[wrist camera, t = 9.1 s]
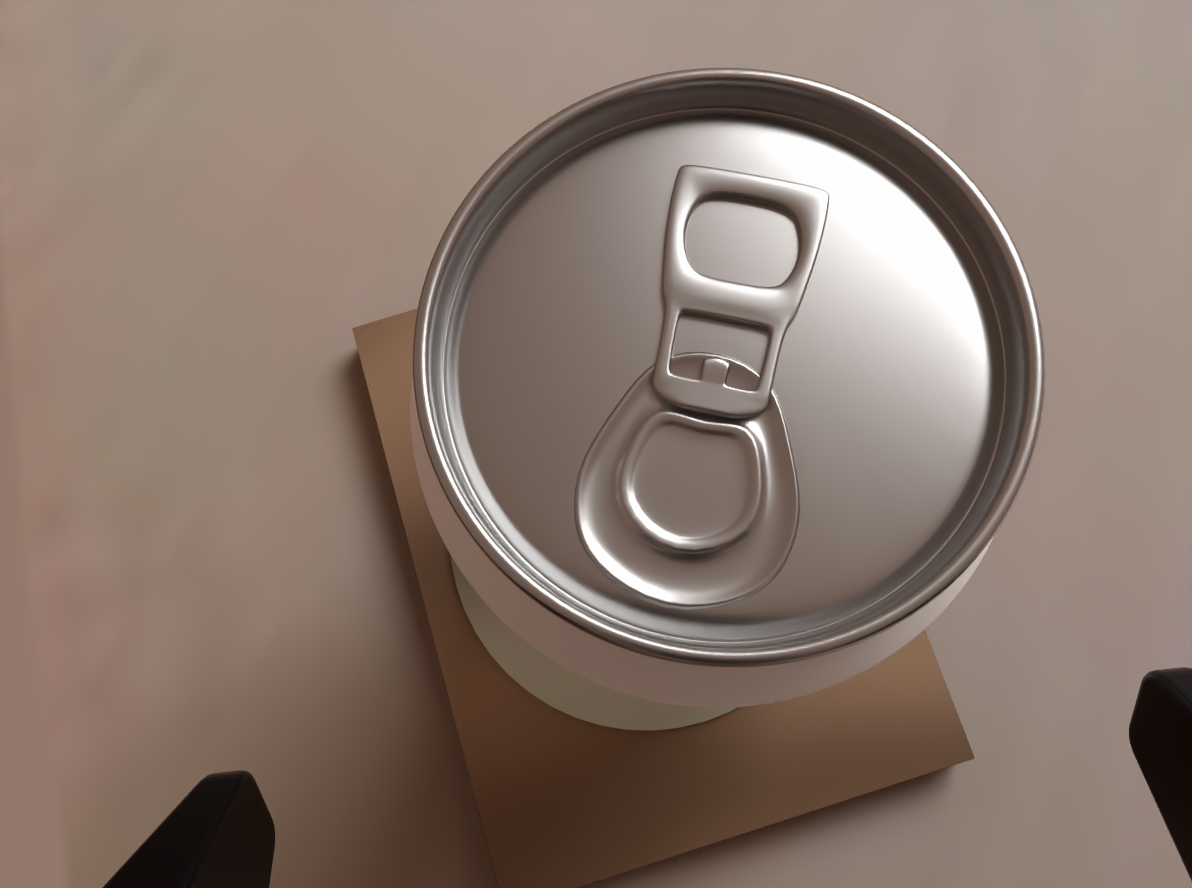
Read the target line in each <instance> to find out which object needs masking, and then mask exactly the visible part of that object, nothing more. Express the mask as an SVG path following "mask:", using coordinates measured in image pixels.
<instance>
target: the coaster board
mask: <svg viewBox="0 0 1192 888" xmlns="http://www.w3.org/2000/svg"><path fill="white" fill-rule="evenodd" d="M417 310H418V309H414V310H411V311H408V312H404V313H401V314H398V315H394V316H391V317H388V318H385V319H381V320H378V321H375V322H371V323H368V324H365V325H362V326H358V327H355V328H352V329H353V333H354V337H355V341H356V344H357V348H358V352H359V356H360V360H361V364H362V367H363V371H364V375H365V379H366V383H367V387H368V390H369V394H370V398H371V402H372V406H373V410H374V413H375V417H376V421H377V425H378V429H379V433H380V436H381V440H382V444H383V448H384V452H385V456H386V459H387V463H388V467H389V471H390V475H391V479H392V482H393V486H394V490H395V494H396V498H397V502H398V505H399V509H400V513H401V517H402V521H403V525H404V528H405V532H406V536H407V540H408V544H409V548H410V551H411V555H412V559H413V563H414V567H415V571H416V574H417V578H418V582H419V586H420V590H421V594H422V597H423V601H424V605H425V609H426V613H427V617H428V620H429V624H430V628H431V632H432V636H433V640H434V643H435V647H436V651H437V655H438V659H439V663H440V666H441V670H442V674H443V678H444V682H445V686H446V689H447V693H448V697H449V701H450V705H451V709H452V713H453V716H454V720H455V724H456V728H457V732H458V736H459V739H460V743H461V747H462V751H463V755H464V759H465V762H466V766H467V770H468V774H469V778H470V782H471V785H472V789H473V793H474V797H475V801H476V805H477V808H478V812H479V816H480V820H481V824H482V828H483V831H484V835H485V839H486V843H487V847H488V851H489V854H490V858H491V862H492V866H493V870H494V874H495V877H496V881H497V885H498V888H578V887H581V886H584V885H587V884H590V883H593V882H596V881H599V880H602V879H605V878H608V877H611V876H614V875H618V874H621V873H624V872H627V871H630V870H633V869H636V868H639V867H642V866H645V865H648V864H651V863H654V862H657V861H661V860H664V859H667V858H670V857H673V856H676V855H679V854H682V853H685V852H688V851H691V850H694V849H697V848H700V847H704V846H707V845H710V844H713V843H716V842H719V841H722V840H725V839H728V838H731V837H734V836H737V835H740V834H744V833H747V832H750V831H753V830H756V829H759V828H762V827H765V826H768V825H771V824H774V823H777V822H780V821H783V820H787V819H790V818H793V817H796V816H799V815H802V814H805V813H808V812H811V811H814V810H817V809H820V808H823V807H826V806H830V805H833V804H836V803H839V802H842V801H845V800H848V799H851V798H854V797H857V796H860V795H863V794H866V793H869V792H873V791H876V790H879V789H882V788H885V787H888V786H891V785H894V784H897V783H900V782H903V781H906V780H909V779H912V778H916V777H919V776H922V775H925V774H928V773H931V772H934V771H937V770H940V769H943V768H946V767H949V766H952V765H955V764H959V763H962V762H965V761H968V760H971V759H974V755H973V753H972V750H971V748H970V745H969V742H968V740H967V737H966V735H965V732H964V729H963V727H962V724H961V722H960V719H959V717H958V714H957V711H956V709H955V706H954V704H953V701H952V698H951V696H950V693H949V691H948V688H947V686H946V683H945V680H944V678H943V675H942V673H941V670H940V668H939V665H938V662H937V660H936V657H935V655H934V652H933V649H932V647H931V644H930V642H929V639H928V637H927V634H926V631H925V629H924V630H923V631H922V632H921V633H920V634H919V635H918V636H916V637H915V638H914V639H913V640H911V641H910V642H909V643H907V644H906V645H905V646H904V647H902V648H901V649H899V650H898V651H896V652H895V653H894V654H892V655H891V656H889V657H887V658H886V659H884V660H883V661H881V662H880V663H878V664H876V665H874V666H872V667H871V668H869V669H867V670H865V671H863V672H861V673H859V674H857V675H855V676H853V677H851V678H849V679H847V680H845V681H842V682H840V683H838V684H835V685H833V686H830V687H828V688H825V689H822V690H820V691H817V692H814V693H810V694H807V695H804V696H800V697H797V698H793V699H789V700H784V701H779V702H774V703H769V704H762V705H755V706H744V707H727V708H708V707H691V706H682V705H674V704H667V703H661V702H656V701H652V700H647V699H643V698H639V697H635V696H631V695H628V694H625V693H622V692H619V691H616V690H613V689H610V688H608V687H605V686H602V685H600V684H597V683H595V682H593V681H590V680H588V679H586V678H584V677H582V676H580V675H578V674H576V673H574V672H572V671H570V670H568V669H567V668H565V667H563V666H561V665H559V664H558V663H556V662H555V661H553V660H551V659H550V658H548V657H547V656H545V655H544V654H542V653H541V652H539V651H538V650H536V649H535V648H534V647H532V646H531V645H530V644H528V643H527V642H526V641H525V640H523V639H522V638H521V637H520V636H518V635H517V634H516V633H515V632H514V631H513V630H511V629H510V628H509V627H508V626H507V625H506V624H505V623H504V622H503V621H502V620H501V619H500V618H499V617H498V616H497V615H496V614H495V613H494V612H493V611H492V610H491V609H490V608H489V607H488V606H487V605H486V603H485V602H484V601H483V600H482V599H481V598H480V596H479V595H478V594H477V593H476V591H475V590H474V589H473V587H472V586H471V585H470V584H469V582H468V581H467V579H466V578H465V576H464V575H463V574H462V572H461V571H460V569H459V568H458V566H457V564H456V563H455V561H454V560H453V558H452V556H451V555H450V553H449V551H448V549H447V547H446V546H445V544H444V542H443V540H442V538H441V536H440V534H439V532H438V530H437V528H436V525H435V523H434V521H433V519H432V516H431V514H430V511H429V508H428V506H427V503H426V500H425V497H424V494H423V491H422V488H421V484H420V480H419V476H418V472H417V467H416V462H415V457H414V451H413V444H412V435H411V419H410V398H411V383H412V373H413V341H414V331H415V323H416V316H417Z"/></svg>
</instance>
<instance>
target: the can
mask: <svg viewBox="0 0 1192 888" xmlns="http://www.w3.org/2000/svg"><path fill="white" fill-rule="evenodd" d="M1044 394H1045V353H1044V342H1043V333H1042V327H1041V321H1040V316H1039V312H1038V307H1037V303H1036V299H1035V296H1034V292H1033V288H1032V285H1031V282H1030V279H1029V276H1028V274H1027V271H1026V269H1025V266H1024V263H1023V261H1022V259H1021V256H1020V254H1019V252H1018V250H1017V248H1016V246H1015V244H1014V242H1013V240H1012V238H1011V236H1010V234H1009V232H1008V230H1007V229H1006V227H1005V225H1004V223H1003V222H1002V220H1001V219H1000V217H999V215H998V214H997V212H996V211H995V209H994V208H993V206H992V205H991V204H990V202H989V201H988V199H987V198H986V197H985V195H984V194H983V193H982V191H981V190H980V189H979V188H978V186H977V185H976V184H975V183H974V182H973V181H972V179H971V178H970V177H969V176H968V175H967V174H966V173H965V172H964V171H963V169H962V168H961V167H960V166H959V165H958V164H957V163H956V162H955V161H954V160H953V159H952V158H951V157H950V156H948V155H947V154H946V153H945V152H944V151H943V150H942V149H941V148H939V147H938V146H937V145H936V144H935V143H934V142H932V141H931V140H930V139H929V138H927V137H926V136H925V135H923V134H922V133H921V132H919V131H918V130H917V129H915V128H914V127H912V126H911V125H909V124H908V123H906V122H905V121H903V120H902V119H900V118H899V117H897V116H895V115H894V114H892V113H890V112H889V111H887V110H885V109H883V108H881V107H879V106H878V105H876V104H874V103H872V102H869V101H867V100H865V99H863V98H861V97H859V96H856V95H854V94H852V93H850V92H847V91H844V90H842V89H839V88H836V87H834V86H831V85H828V84H825V83H821V82H818V81H814V80H811V79H807V78H803V77H799V76H795V75H790V74H785V73H779V72H773V71H766V70H756V69H744V68H702V69H690V70H681V71H674V72H668V73H662V74H657V75H652V76H648V77H644V78H640V79H636V80H633V81H629V82H626V83H623V84H620V85H617V86H614V87H611V88H608V89H606V90H603V91H601V92H598V93H596V94H593V95H591V96H589V97H587V98H584V99H582V100H580V101H578V102H576V103H574V104H572V105H570V106H569V107H567V108H565V109H563V110H561V111H560V112H558V113H556V114H555V115H553V116H551V117H550V118H548V119H547V120H545V121H544V122H542V123H541V124H539V125H538V126H536V127H535V128H534V129H532V130H531V131H530V132H528V133H527V134H526V135H524V136H523V137H522V138H521V139H520V140H518V141H517V142H516V143H515V144H513V145H512V146H511V147H510V148H509V149H508V150H507V151H506V152H505V153H504V154H503V155H502V156H501V157H500V158H498V159H497V160H496V161H495V162H494V163H493V165H492V166H491V167H490V168H489V169H488V170H487V171H486V172H485V173H484V174H483V176H482V177H481V178H480V179H479V180H478V182H477V183H476V184H475V185H474V187H473V188H472V189H471V191H470V192H469V193H468V195H467V196H466V197H465V199H464V200H463V202H462V203H461V205H460V206H459V208H458V209H457V211H456V212H455V214H454V216H453V217H452V219H451V221H450V223H449V224H448V226H447V228H446V230H445V232H444V234H443V236H442V238H441V240H440V242H439V244H438V246H437V249H436V251H435V253H434V256H433V258H432V261H431V263H430V266H429V269H428V272H427V275H426V278H425V281H424V285H423V288H422V292H421V296H420V301H419V305H418V310H417V316H416V323H415V331H414V341H413V373H412V383H411V398H410V419H411V435H412V444H413V451H414V457H415V462H416V467H417V472H418V476H419V480H420V484H421V488H422V491H423V494H424V497H425V500H426V503H427V506H428V508H429V511H430V514H431V516H432V519H433V521H434V523H435V525H436V528H437V530H438V532H439V534H440V536H441V538H442V540H443V542H444V544H445V546H446V547H447V549H448V551H449V553H450V555H451V556H452V558H453V560H454V561H455V563H456V564H457V566H458V568H459V569H460V571H461V572H462V574H463V575H464V576H465V578H466V579H467V581H468V582H469V584H470V585H471V586H472V587H473V589H474V590H475V591H476V593H477V594H478V595H479V596H480V598H481V599H482V600H483V601H484V602H485V603H486V605H487V606H488V607H489V608H490V609H491V610H492V611H493V612H494V613H495V614H496V615H497V616H498V617H499V618H500V619H501V620H502V621H503V622H504V623H505V624H506V625H507V626H508V627H509V628H510V629H511V630H513V631H514V632H515V633H516V634H517V635H518V636H520V637H521V638H522V639H523V640H525V641H526V642H527V643H528V644H530V645H531V646H532V647H534V648H535V649H536V650H538V651H539V652H541V653H542V654H544V655H545V656H547V657H548V658H550V659H551V660H553V661H555V662H556V663H558V664H559V665H561V666H563V667H565V668H567V669H568V670H570V671H572V672H574V673H576V674H578V675H580V676H582V677H584V678H586V679H588V680H590V681H593V682H595V683H597V684H600V685H602V686H605V687H608V688H610V689H613V690H616V691H619V692H622V693H625V694H628V695H631V696H635V697H639V698H643V699H647V700H652V701H656V702H661V703H667V704H674V705H682V706H691V707H708V708H727V707H744V706H755V705H762V704H769V703H774V702H779V701H784V700H789V699H793V698H797V697H800V696H804V695H807V694H810V693H814V692H817V691H820V690H822V689H825V688H828V687H830V686H833V685H835V684H838V683H840V682H842V681H845V680H847V679H849V678H851V677H853V676H855V675H857V674H859V673H861V672H863V671H865V670H867V669H869V668H871V667H872V666H874V665H876V664H878V663H880V662H881V661H883V660H884V659H886V658H887V657H889V656H891V655H892V654H894V653H895V652H896V651H898V650H899V649H901V648H902V647H904V646H905V645H906V644H907V643H909V642H910V641H911V640H913V639H914V638H915V637H916V636H918V635H919V634H920V633H921V632H922V631H923V630H924V629H926V628H927V627H928V626H929V625H930V624H931V623H932V622H933V621H934V620H935V619H936V618H937V617H938V616H939V615H940V614H941V613H942V612H943V611H944V610H945V609H946V608H947V606H948V605H949V604H950V603H951V602H952V601H953V600H954V598H955V597H956V596H957V595H958V593H959V592H960V591H961V590H962V588H963V587H964V586H965V584H966V583H967V582H968V580H969V579H970V577H971V576H972V574H973V573H974V571H975V570H976V568H977V567H978V565H979V563H980V561H981V560H982V558H983V556H984V555H985V553H986V551H987V549H988V547H989V545H990V543H991V541H992V539H993V537H994V535H995V533H996V532H997V530H998V529H999V527H1000V526H1001V524H1002V523H1003V521H1004V519H1005V518H1006V516H1007V514H1008V512H1009V511H1010V509H1011V507H1012V505H1013V503H1014V501H1015V499H1016V497H1017V495H1018V493H1019V491H1020V489H1021V486H1022V484H1023V482H1024V479H1025V477H1026V474H1027V472H1028V469H1029V466H1030V463H1031V460H1032V457H1033V454H1034V450H1035V446H1036V443H1037V439H1038V434H1039V430H1040V425H1041V419H1042V412H1043V404H1044Z"/></svg>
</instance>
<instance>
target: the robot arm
mask: <svg viewBox="0 0 1192 888" xmlns="http://www.w3.org/2000/svg"><path fill="white" fill-rule="evenodd" d="M1129 739H1130V744H1131V747H1132V750H1133V753H1134V755H1135V758H1136V760H1137V762H1138V764H1139V766H1140V769H1141V771H1142V773H1143V775H1144V777H1145V780H1146V782H1147V784H1148V786H1149V788H1150V791H1151V793H1152V795H1153V797H1154V799H1155V802H1156V804H1157V806H1158V808H1159V810H1160V813H1161V815H1162V817H1163V819H1164V821H1165V824H1166V826H1167V828H1168V830H1169V832H1170V835H1171V837H1172V839H1173V841H1174V843H1175V846H1176V848H1177V850H1178V852H1179V854H1180V857H1181V859H1182V861H1183V863H1184V865H1185V868H1186V870H1187V872H1188V874H1189V876H1190V878H1191V880H1192V668H1185V667H1184V668H1173V669H1163V670H1154V671H1151V672H1149V673H1148V674H1147V675H1146V676H1145V677H1144V678H1143V680H1142V682H1141V686H1140V690H1139V693H1138V697H1137V700H1136V704H1135V707H1134V711H1133V714H1132V718H1131V722H1130V726H1129ZM274 847H275V828H274V823H273V820H272V817H271V815H270V813H269V810H268V808H267V806H266V804H265V802H264V799H263V797H262V795H261V793H260V790H259V788H258V786H257V784H256V781H255V779H254V778H253V776H252V775H251V774H250V773H249V772H247V771H242V770H240V771H231V772H222V773H214V774H210V775H208V776H206V777H205V778H204V779H202V780H201V781H200V782H199V783H198V784H197V785H196V786H195V787H194V788H193V789H192V791H191V792H190V793H189V794H188V795H187V796H186V797H185V798H184V799H183V800H182V801H181V803H180V804H179V805H178V806H177V807H176V808H175V809H174V810H173V811H172V812H171V813H170V815H169V816H168V817H167V818H166V819H165V820H164V821H163V822H162V823H161V824H160V825H159V827H158V828H157V829H156V830H155V831H154V832H153V833H152V834H151V835H150V836H149V837H148V839H147V840H146V841H145V842H144V843H143V844H142V845H141V846H140V847H139V848H138V849H137V851H136V852H135V853H134V854H133V855H132V856H131V857H130V858H129V859H128V860H127V861H126V863H125V864H124V865H123V866H122V867H121V868H120V869H119V870H118V871H117V872H116V873H115V875H114V876H113V877H112V878H111V879H110V880H109V881H108V882H107V883H106V884H105V885H104V887H103V888H269V884H270V877H271V869H272V862H273V854H274Z"/></svg>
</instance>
